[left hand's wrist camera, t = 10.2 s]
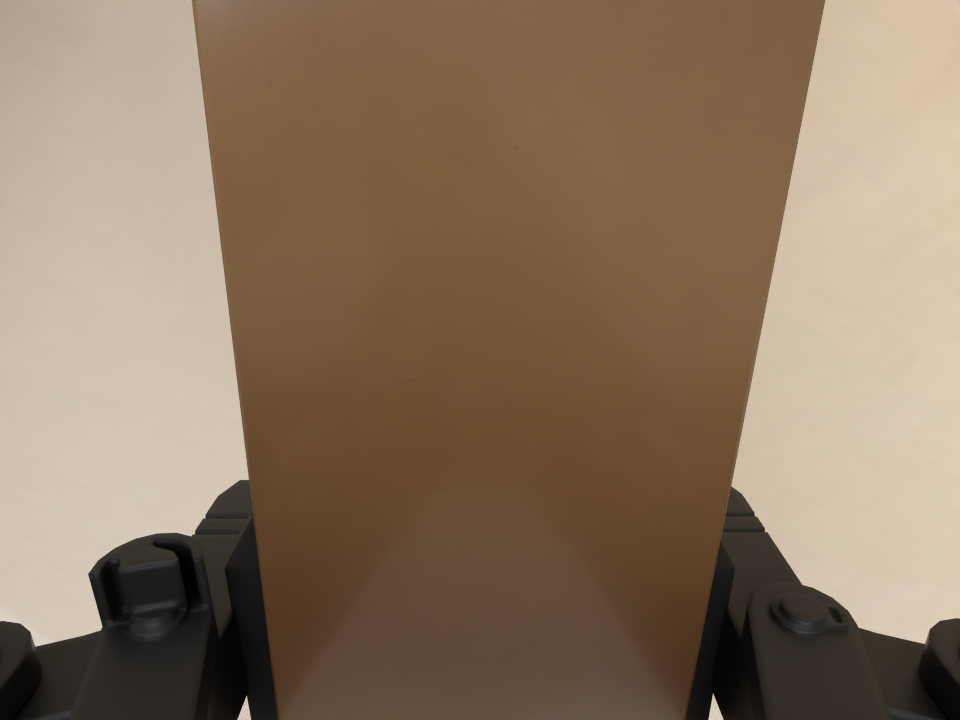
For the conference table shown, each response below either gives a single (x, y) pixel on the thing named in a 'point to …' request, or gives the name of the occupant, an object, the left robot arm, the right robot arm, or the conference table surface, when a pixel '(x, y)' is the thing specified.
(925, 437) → the conference table surface
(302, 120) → the beam
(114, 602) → the left robot arm
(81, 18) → the conference table surface
